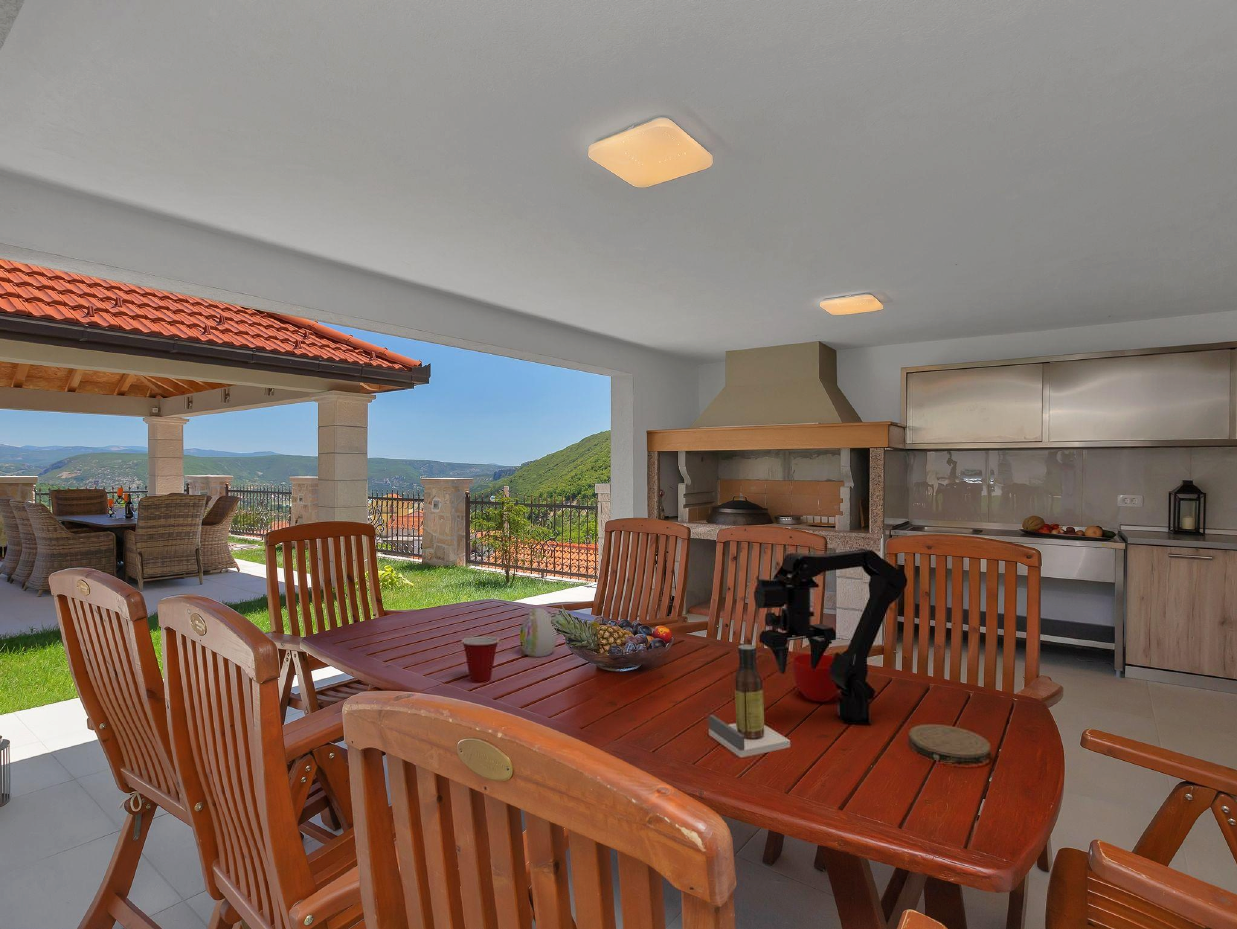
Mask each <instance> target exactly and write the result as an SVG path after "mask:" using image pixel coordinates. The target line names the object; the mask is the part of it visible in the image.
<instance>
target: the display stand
mask: <svg viewBox="0 0 1237 929" xmlns="http://www.w3.org/2000/svg"><path fill="white" fill-rule="evenodd" d="M708 735H709V737H711V738H712V739H714V740H715V741H717V743H720V744H721V745H722V746H724V747H725V748H726V749H728V750H729V751H730V752H732V753H733V754H735V756H737V757H739V758H745V757H751V756H757V755H761V754H765V753H770V752H774V751H779V750H784V749H785V750H786V749H788V748H791V740H790V739H788V738H787V737H785V736H784V735H782V734H780V733H779V732H777V731H776V730H773V729H772V728H770V727H768V726H767V725H765V724H764V735H763V736H762V737H760V738H756V739H749V738H745V737H744V735H742V734H741V733H739V732H738V731H737V727H736V722H735V723H729V724H728V723H725V722H724V721H722V719H720V718H718V717H717V716H715V715H713V714H709V715H708Z"/></svg>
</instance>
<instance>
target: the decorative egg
mask: <svg viewBox="0 0 1237 929" xmlns="http://www.w3.org/2000/svg"><path fill="white" fill-rule="evenodd" d="M552 619H553V616H552V615H550V613H549V612H548V611H547V610H545V609H543V608H541V607H538V608H534V609H532V610H530V612H529V613H528V614H527V615H526V616H525V618H524V619H523V622H522V623H521V627H520V630H519V631H520V632H519V642H520V646H521V649H522V651H523V652H524V654H525V655H526V656H528V657H533V658H542V657H546V656H547V657H548V656H550V655H551V654H552V652H553V651H554V649H555V647H556V645H557V642H558V632H557V631H556V630H557V629H556V630H555V629H554V627H553V626H552V625H551V620H552Z"/></svg>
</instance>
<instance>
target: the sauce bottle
mask: <svg viewBox="0 0 1237 929" xmlns="http://www.w3.org/2000/svg"><path fill="white" fill-rule="evenodd" d="M737 648H738V649H737V653H738V655H739V657H738V658H739V663H738V665H739V667H738V668H737V669H736V672H735V676H734V686H735V687H734V697H735V700H734V701H735V721H736V722H735V723H736V727H737V731H738V732H739V733H741V734H742V735H744V737H745V738H749V739H756V738H760V737H762V736H763V735H764V725H765V711H764V710H765V709H764V708H765V707H764V706H765V705H764V690H763V689H764V688H763V681H762V677H761V675H760V673H759V670H758V668H757V658H756V656H757V655H756V654H757V646H754V645H753V644H741V645H738V646H737Z"/></svg>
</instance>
